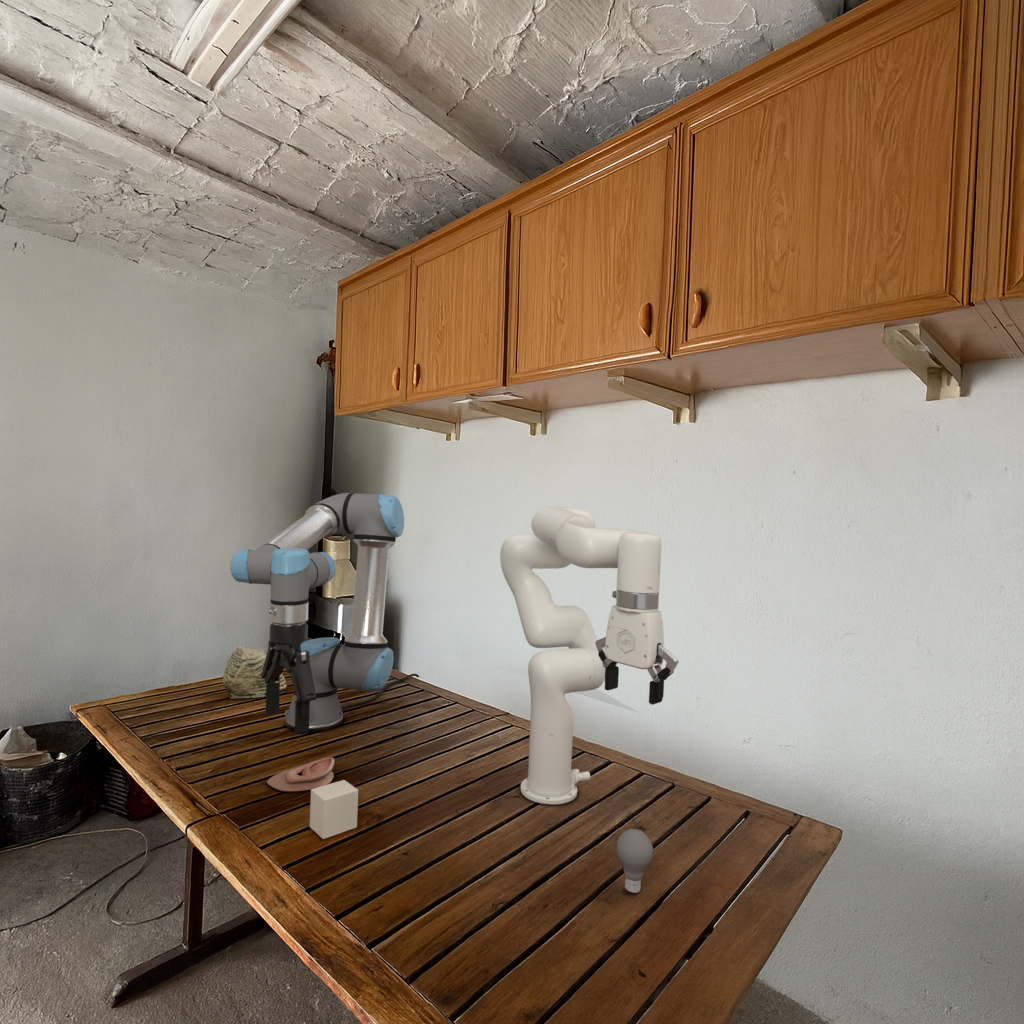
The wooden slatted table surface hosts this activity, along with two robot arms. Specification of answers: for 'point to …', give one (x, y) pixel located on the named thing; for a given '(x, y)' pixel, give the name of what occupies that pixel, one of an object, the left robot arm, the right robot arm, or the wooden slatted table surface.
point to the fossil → (247, 674)
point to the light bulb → (634, 857)
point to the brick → (333, 809)
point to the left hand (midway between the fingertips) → (286, 722)
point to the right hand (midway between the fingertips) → (632, 695)
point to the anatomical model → (304, 776)
